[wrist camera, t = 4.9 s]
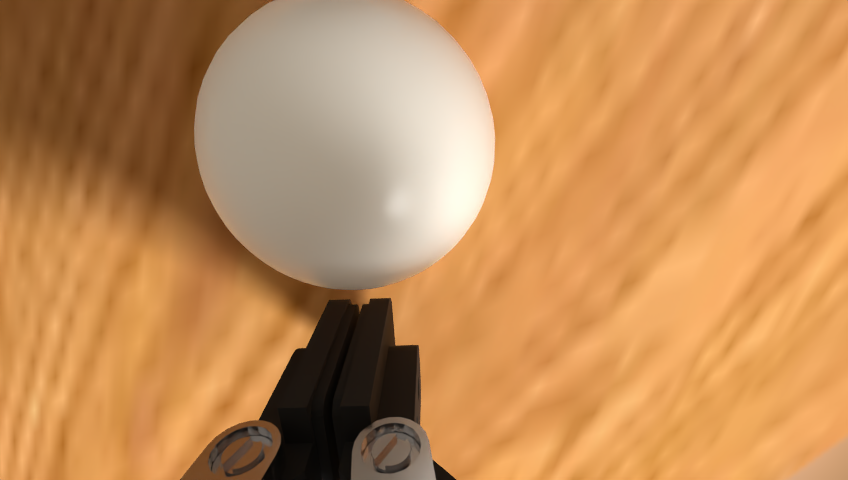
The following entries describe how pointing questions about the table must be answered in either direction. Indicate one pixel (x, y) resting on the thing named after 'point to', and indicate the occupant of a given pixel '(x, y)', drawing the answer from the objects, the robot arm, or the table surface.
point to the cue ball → (344, 140)
